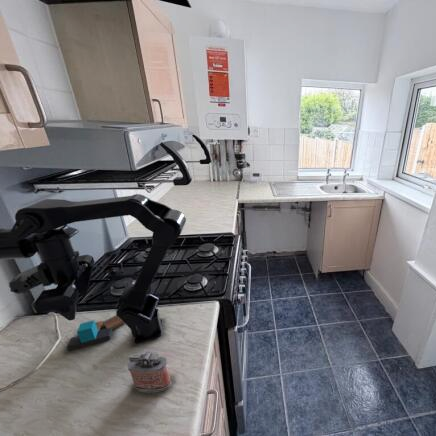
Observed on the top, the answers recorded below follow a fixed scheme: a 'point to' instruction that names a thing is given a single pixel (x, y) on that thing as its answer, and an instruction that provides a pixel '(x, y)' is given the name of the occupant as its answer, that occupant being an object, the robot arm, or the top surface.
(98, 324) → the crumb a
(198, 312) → the top surface
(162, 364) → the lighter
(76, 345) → the wiper
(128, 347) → the top surface
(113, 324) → the brown flat square block
